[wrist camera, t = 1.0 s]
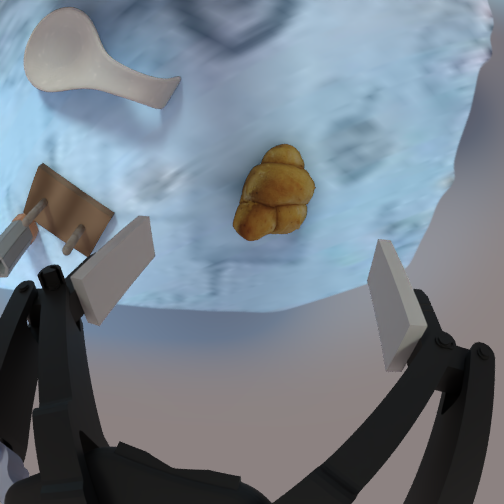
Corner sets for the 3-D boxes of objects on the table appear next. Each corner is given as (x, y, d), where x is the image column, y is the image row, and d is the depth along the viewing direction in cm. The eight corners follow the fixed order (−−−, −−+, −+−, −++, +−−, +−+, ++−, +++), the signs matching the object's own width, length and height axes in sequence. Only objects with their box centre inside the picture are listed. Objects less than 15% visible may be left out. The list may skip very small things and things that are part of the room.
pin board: (27, 208, 38) (3, 235, 31) (43, 163, 34) (14, 186, 27) (91, 252, 45) (74, 284, 38) (114, 212, 41) (95, 244, 34)
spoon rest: (26, 75, 25) (-4, 84, 19) (58, 3, 19) (29, -1, 14) (154, 129, 34) (139, 144, 28) (198, 52, 28) (191, 50, 23)
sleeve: (14, 228, 40) (-16, 265, 31) (19, 208, 38) (-14, 245, 29) (34, 243, 42) (7, 282, 34) (40, 223, 40) (9, 263, 31)
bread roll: (262, 130, 35) (270, 148, 29) (326, 158, 38) (345, 180, 32) (227, 210, 42) (227, 241, 36) (286, 229, 45) (296, 262, 39)
